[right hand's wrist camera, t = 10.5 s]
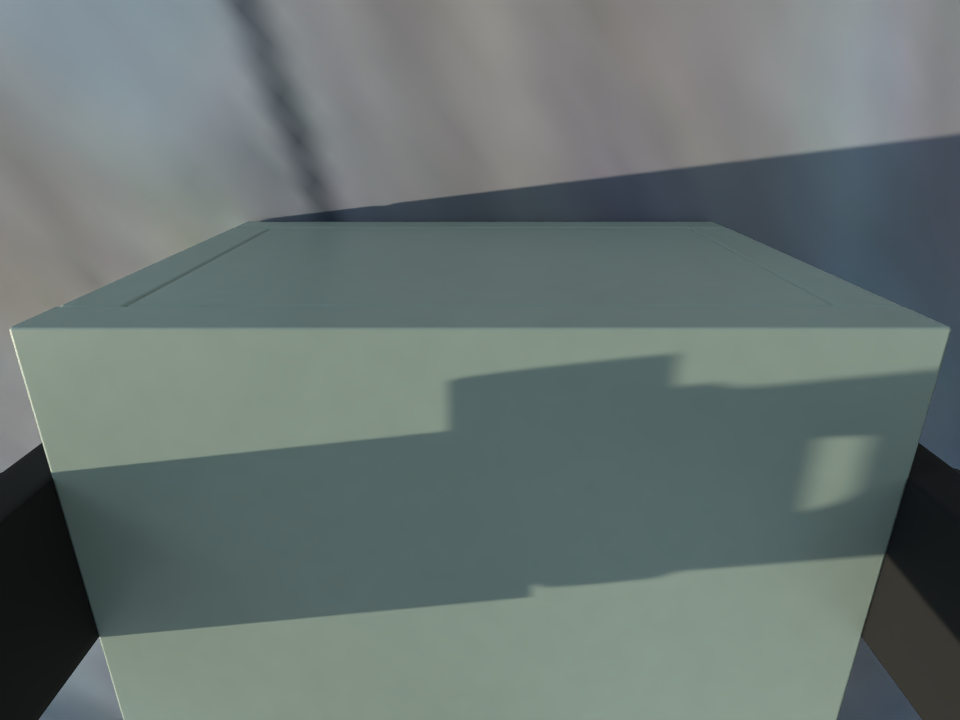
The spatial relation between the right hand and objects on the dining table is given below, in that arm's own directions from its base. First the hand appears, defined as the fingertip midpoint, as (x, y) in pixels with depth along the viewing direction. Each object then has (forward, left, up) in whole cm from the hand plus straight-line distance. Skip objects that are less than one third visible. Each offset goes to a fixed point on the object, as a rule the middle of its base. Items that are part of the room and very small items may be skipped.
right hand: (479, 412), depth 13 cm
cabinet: (+3, +4, -3) cm, 6 cm away
